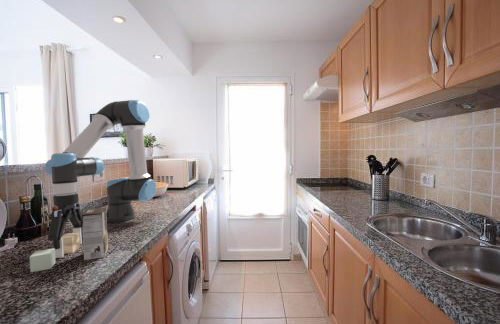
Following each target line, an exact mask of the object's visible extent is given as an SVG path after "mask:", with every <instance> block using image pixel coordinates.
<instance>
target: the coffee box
mask: <svg viewBox="0 0 500 324" xmlns="http://www.w3.org/2000/svg"><path fill="white" fill-rule="evenodd" d="M106 211H107V207H94V208H93V207H92V208H87V209H86V210H84V212H83V213H81V214H82V227H81V230H82V243H83V244H82V245H83V261H87V260H88V261H89V260H94V259H100V258H105V256H106V254H107V252H108V250H109V238H108V237H109V235H108V222H107V216H106Z"/></svg>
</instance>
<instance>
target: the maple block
mask: <svg viewBox="0 0 500 324" xmlns="http://www.w3.org/2000/svg"><path fill="white" fill-rule="evenodd" d="M61 239H63V250H64V255H66V254H73V253H75V252H76V251H78V250H79V249H80V248H81V244H80V241H79V233H73V232H72V233H71V232H70V233H64V234H62V237H61Z"/></svg>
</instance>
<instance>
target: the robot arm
mask: <svg viewBox="0 0 500 324" xmlns="http://www.w3.org/2000/svg"><path fill="white" fill-rule="evenodd" d="M149 119H150V112H149V109H148V107H147V105H146V103H144V102H143V101H142V100H140V99H139V100H138V99H129V100H119V101H117V100H116V101H113V102H112V101H111V102H109V103H108V104H106V105H104V106H103V107H102V108H100V109H99V110H98V111H97V112H96V113H95V114H94V115H93V118H92V121H91V122H90V123H89V124H88V125H87V126H86V127H85V128H84V129H83V130H82V131H81V132H80V133H79V134H78V136H76V138H75V139H74V140H73V141H72V142H71V143H70V144H69V145H68V146H67V147H66V148H65V149H64V151H62V152H59V153H57V152H55V153H53V154H51V156H50V159H48V160H47V161H46V162H45V164H44V165H45V166H44V169H45V171H46V173H48V175H51V180H52V181H51V182H52V187H51V188H52V194H53V196H52V199H53V200H52V202H53V206H56V207H57V210H52V211H51V221H50V225H49V230H48V236H47V240H48V241H52V245H53V247H52V248H55V259H58V258H59V259H60V258H63V257H64V256H65V254H64V250H63V239H61V237H62V235H64V234H63V233H64V230H65V227H66V223H68V221H70V223H71V225H72V233H79V241H80V245H83V244H82V243H83V236H82V214H83V213H82V211H81V208H80V207H81V206H80V203H79V194H78V192H79V185H78V178H79V177H87V176H96V175H97V176H98V175H99V174H102V173H103V171H104V169H105V163H104V162H103V160H102V159H101V158H100V157H94V156H93V157H91V156H90V157H86V155H87V154H88V153H89V152H90V151H91V149H93V147H94V146H95V145H96V144H97V143H98V141H99V140H101V138H102V137H103V135H104V134H105V133H106V132H107V131H108V130H111V129H112V128H113V127H114V126H115V125H119V124H120V126H121V128H122V129H124V131H125V132H124V133H125V141H126V142H125V143H126V150H127V158H128V167H129V175H128V176H126V177H121V178H120V177H119V178H113V179H109V180H107V182H106V196H107V207H106V216H107V223H120V222H121V223H122V222H126V221H130V220H133V219H135V218H136V212H135V210H134V208H133V205H132V202H134V201H135V202H146V201H147V202H148V201H150V200H152V199H153V198H154V197H155V194H156V192H157V182H156V181H155V180H154V179H152V175H151V174H150V173H148V168H147V167H148V166H147V165H148V164H147V157H146V148H145V147H146V146H145V138H144V136H145V135H144V128H146V123H147V122H148V121H149Z"/></svg>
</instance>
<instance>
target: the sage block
mask: <svg viewBox="0 0 500 324" xmlns="http://www.w3.org/2000/svg"><path fill="white" fill-rule="evenodd" d="M55 264H56V258H55V248H53V247H52V248H48V249H46V248H45V249H41V250H35V251H34V252H33V253H32V254H31V255H30V256H29V268H30V269H29V271H30V273H35V272H40V271H45V270H50V269H52V267H53V266H54V265H55Z"/></svg>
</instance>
